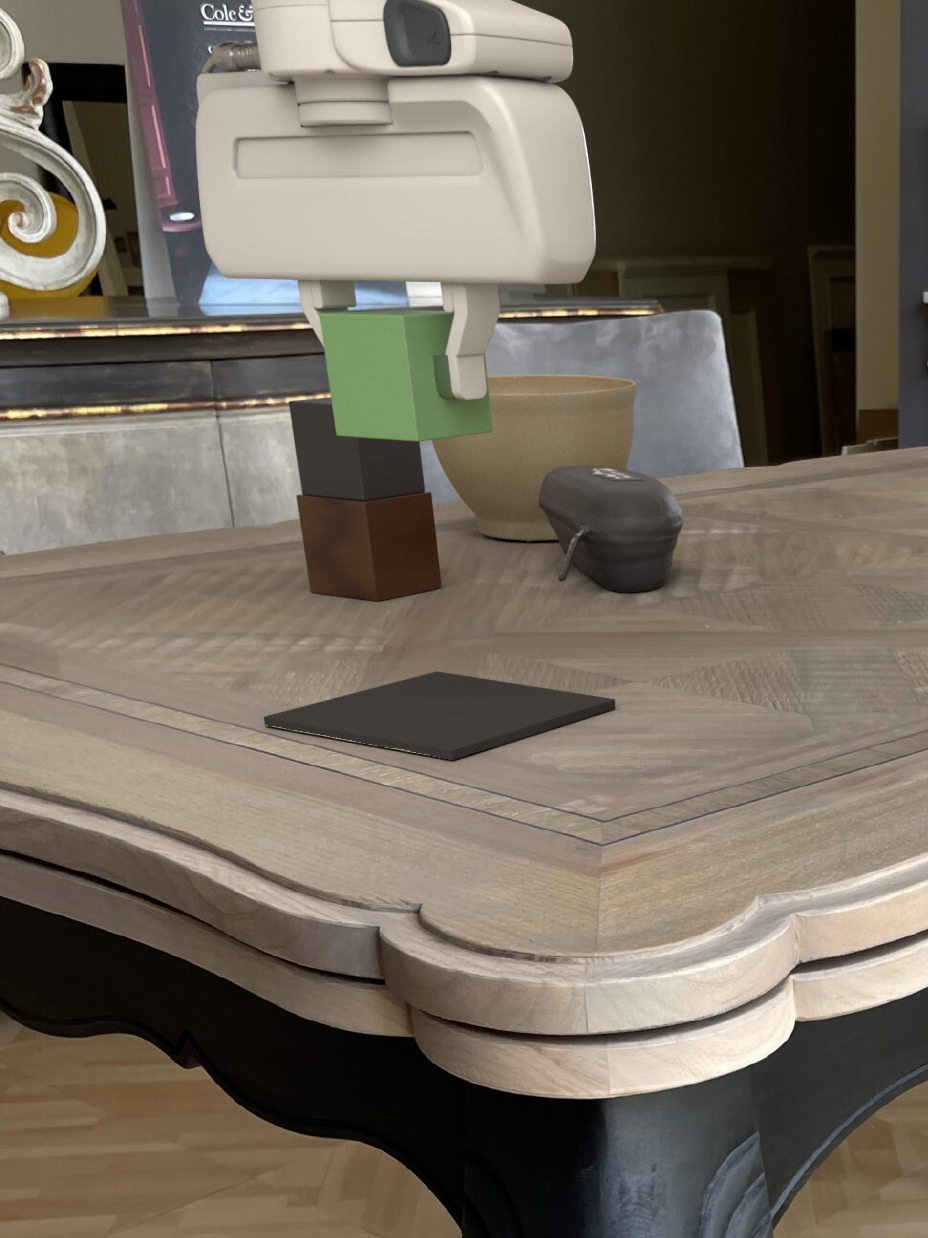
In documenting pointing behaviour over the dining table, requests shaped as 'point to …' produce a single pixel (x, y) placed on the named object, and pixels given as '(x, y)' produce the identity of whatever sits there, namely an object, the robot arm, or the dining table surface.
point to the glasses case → (613, 525)
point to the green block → (395, 377)
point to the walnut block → (370, 546)
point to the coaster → (442, 714)
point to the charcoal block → (350, 458)
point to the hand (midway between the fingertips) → (410, 396)
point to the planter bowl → (537, 446)
